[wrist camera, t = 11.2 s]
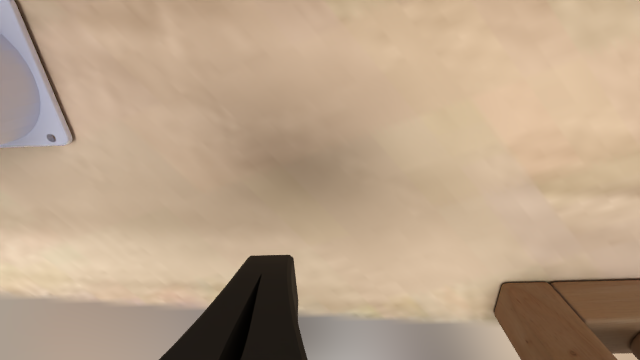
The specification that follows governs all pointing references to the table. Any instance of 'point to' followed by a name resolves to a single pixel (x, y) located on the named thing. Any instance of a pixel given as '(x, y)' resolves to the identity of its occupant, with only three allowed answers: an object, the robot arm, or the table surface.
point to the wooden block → (571, 319)
